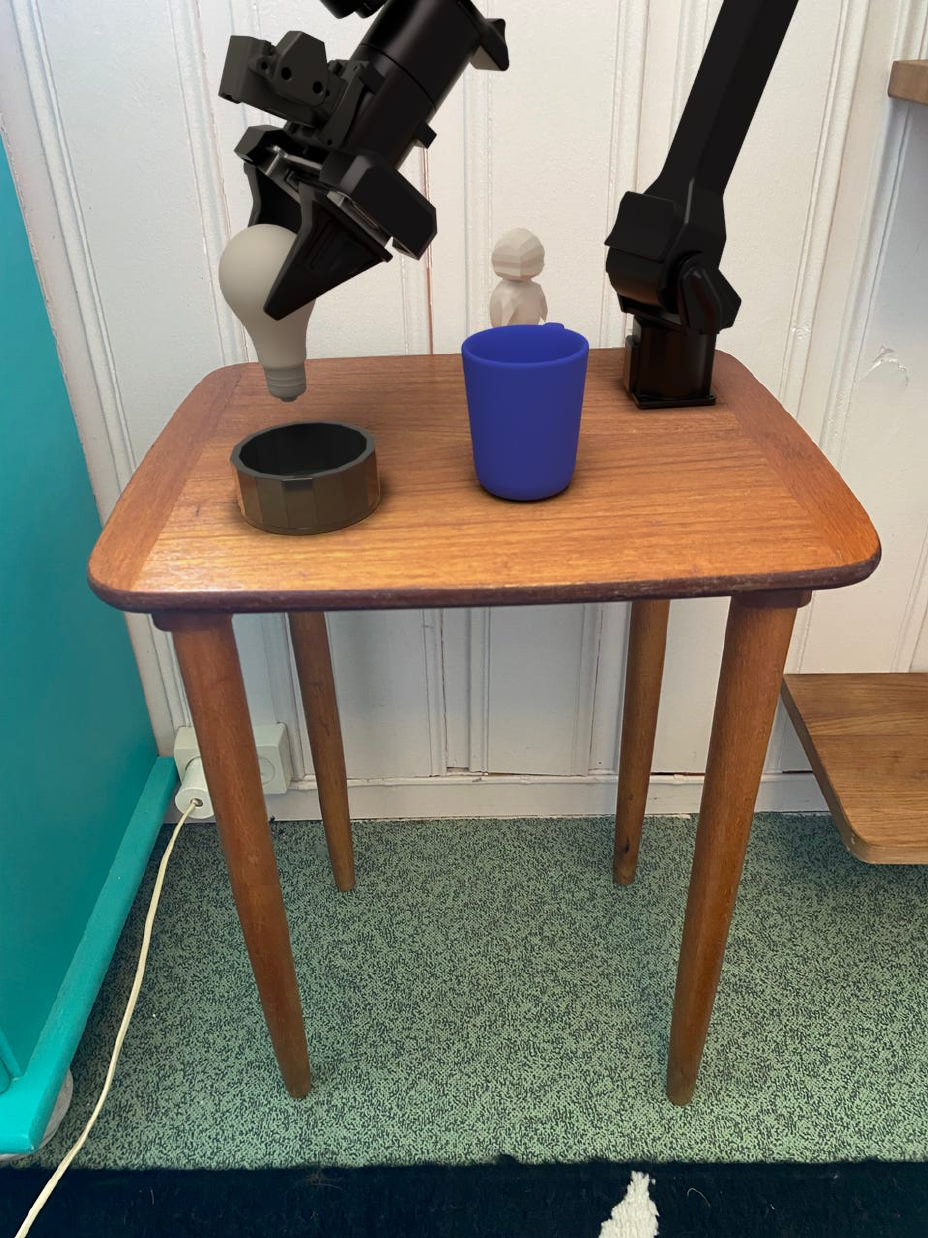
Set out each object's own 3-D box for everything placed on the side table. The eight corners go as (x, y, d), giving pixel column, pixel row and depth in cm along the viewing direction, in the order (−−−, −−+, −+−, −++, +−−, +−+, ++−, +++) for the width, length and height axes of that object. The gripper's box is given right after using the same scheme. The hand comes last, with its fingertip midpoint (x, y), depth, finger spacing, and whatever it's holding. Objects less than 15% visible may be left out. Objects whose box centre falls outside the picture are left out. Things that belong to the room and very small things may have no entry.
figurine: (514, 383, 80) (513, 239, 74) (470, 375, 83) (466, 234, 76) (559, 357, 86) (562, 220, 79) (517, 349, 88) (516, 216, 81)
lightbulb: (301, 377, 64) (276, 210, 58) (353, 399, 60) (332, 222, 54) (225, 402, 61) (190, 227, 55) (276, 426, 57) (244, 241, 51)
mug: (605, 445, 69) (613, 311, 63) (567, 518, 60) (572, 369, 54) (502, 434, 71) (500, 304, 66) (450, 503, 62) (442, 358, 56)
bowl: (381, 467, 67) (376, 415, 65) (379, 530, 59) (373, 474, 57) (250, 475, 67) (241, 423, 65) (231, 539, 59) (220, 483, 57)
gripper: (237, -26, 56) (102, 195, 58) (362, -40, 42) (180, 249, 44) (368, 108, 63) (245, 299, 65) (510, 133, 50) (348, 373, 52)
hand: (252, 303), depth 56 cm, fingers closed on lightbulb, 6 cm apart
